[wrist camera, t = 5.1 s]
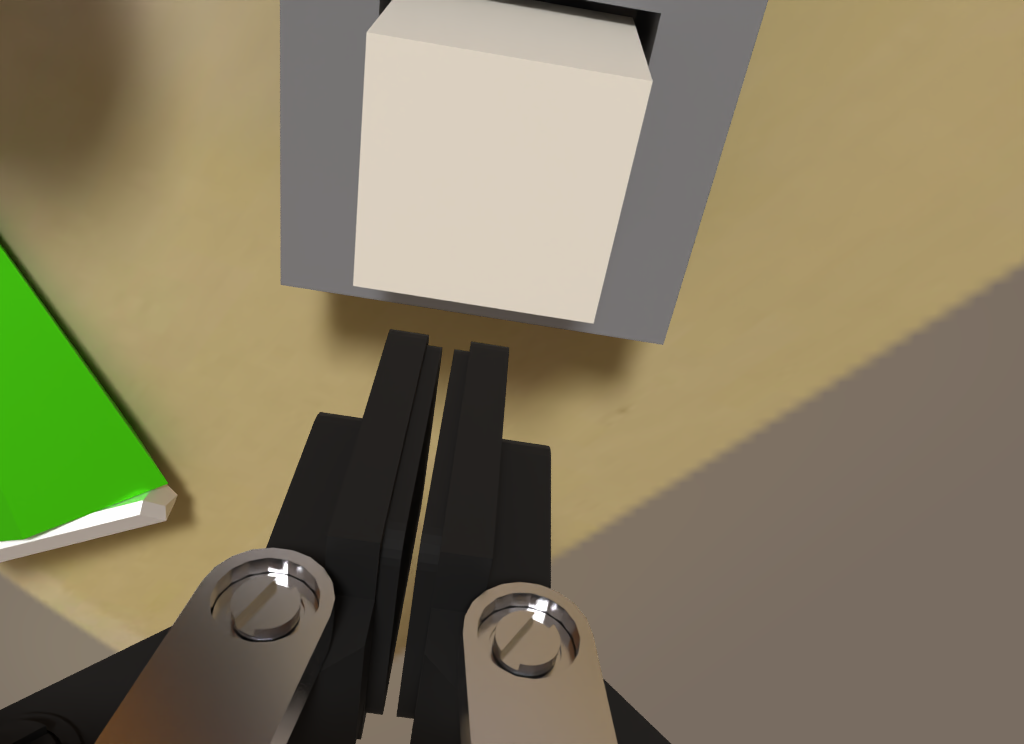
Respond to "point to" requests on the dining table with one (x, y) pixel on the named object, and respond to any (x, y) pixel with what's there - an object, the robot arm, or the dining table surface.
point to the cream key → (496, 152)
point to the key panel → (652, 182)
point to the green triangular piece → (62, 438)
